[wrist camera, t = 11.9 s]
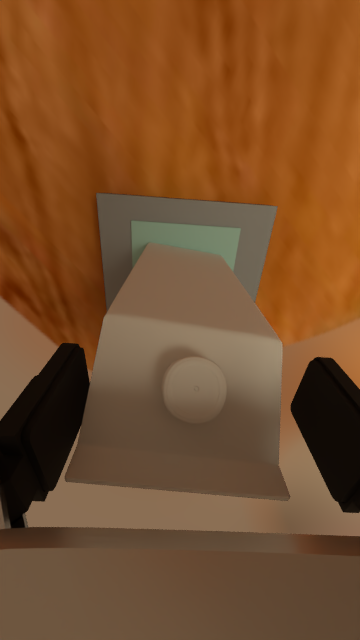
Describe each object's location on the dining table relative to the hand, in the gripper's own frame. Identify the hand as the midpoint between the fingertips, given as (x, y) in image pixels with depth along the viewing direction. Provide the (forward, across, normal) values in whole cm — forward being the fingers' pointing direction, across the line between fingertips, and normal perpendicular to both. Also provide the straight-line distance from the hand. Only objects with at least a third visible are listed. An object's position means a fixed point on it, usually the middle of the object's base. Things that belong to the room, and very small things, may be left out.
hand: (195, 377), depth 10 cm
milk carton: (+16, +1, +2) cm, 16 cm away
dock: (+18, 0, +2) cm, 19 cm away
